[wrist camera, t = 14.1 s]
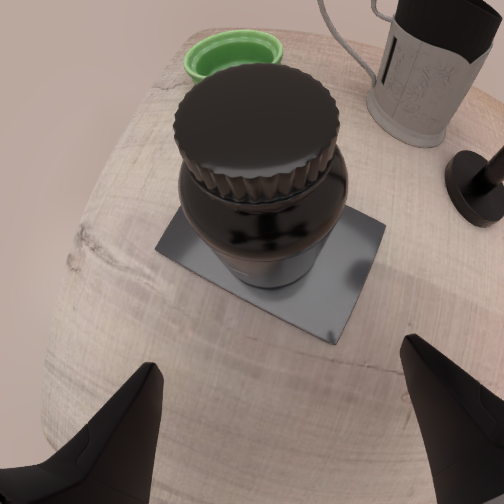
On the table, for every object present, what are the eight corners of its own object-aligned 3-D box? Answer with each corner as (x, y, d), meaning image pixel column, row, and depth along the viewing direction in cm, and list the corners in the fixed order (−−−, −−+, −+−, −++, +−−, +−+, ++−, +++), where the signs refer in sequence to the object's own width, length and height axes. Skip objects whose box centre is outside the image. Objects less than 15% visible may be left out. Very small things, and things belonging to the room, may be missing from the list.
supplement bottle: (213, 285, 18) (106, 213, 6) (225, 191, 20) (170, 54, 8) (319, 293, 17) (389, 227, 6) (322, 195, 19) (355, 52, 7)
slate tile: (333, 345, 17) (335, 345, 16) (157, 251, 20) (153, 249, 19) (384, 227, 18) (386, 225, 18) (218, 155, 21) (216, 151, 21)
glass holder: (447, 161, 19) (527, 44, 5) (301, 110, 22) (303, -48, 7) (441, 103, 21) (489, 1, 7) (320, 61, 24) (325, -58, 9)
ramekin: (248, 52, 25) (243, 22, 21) (303, 86, 23) (305, 51, 18) (180, 87, 24) (167, 56, 20) (226, 129, 22) (216, 93, 18)
